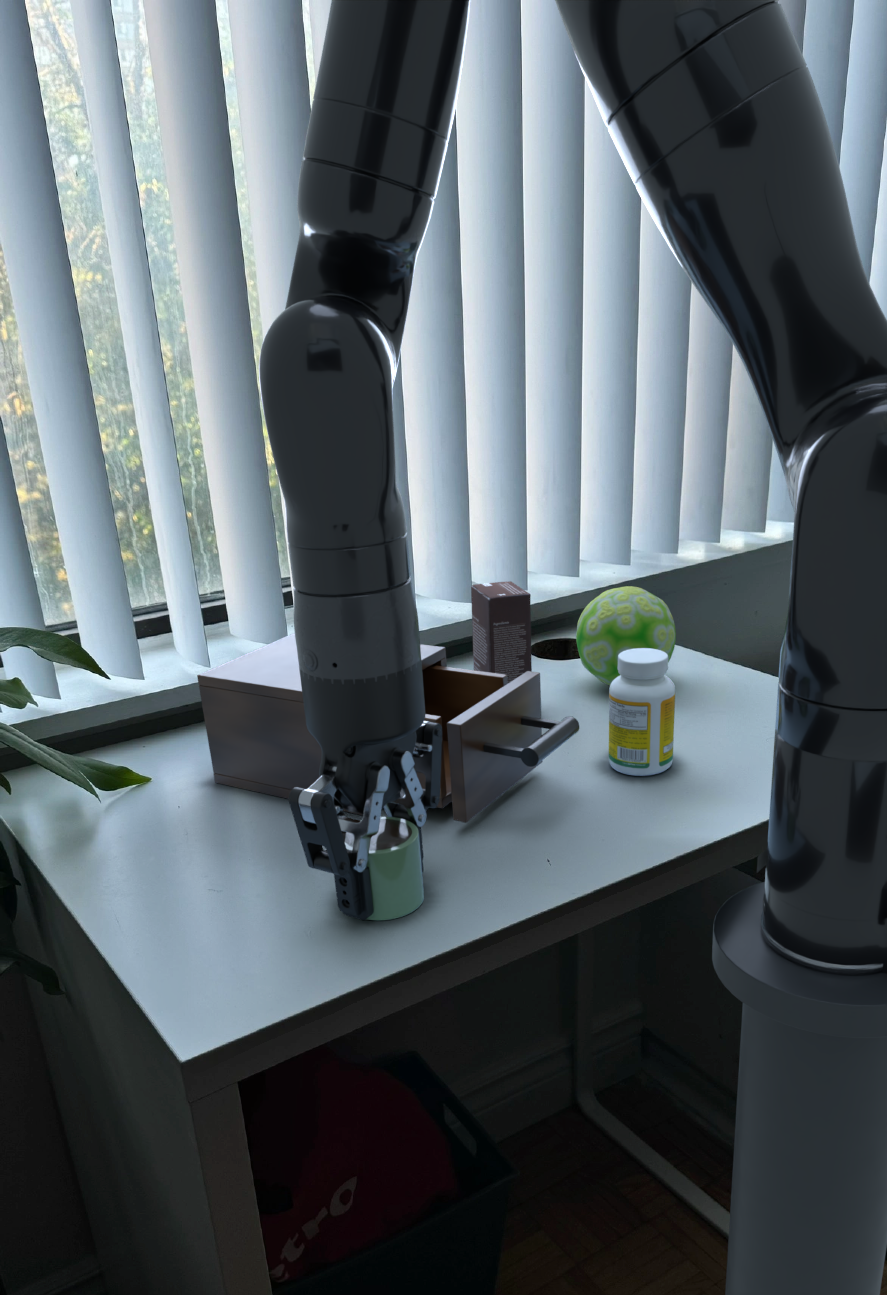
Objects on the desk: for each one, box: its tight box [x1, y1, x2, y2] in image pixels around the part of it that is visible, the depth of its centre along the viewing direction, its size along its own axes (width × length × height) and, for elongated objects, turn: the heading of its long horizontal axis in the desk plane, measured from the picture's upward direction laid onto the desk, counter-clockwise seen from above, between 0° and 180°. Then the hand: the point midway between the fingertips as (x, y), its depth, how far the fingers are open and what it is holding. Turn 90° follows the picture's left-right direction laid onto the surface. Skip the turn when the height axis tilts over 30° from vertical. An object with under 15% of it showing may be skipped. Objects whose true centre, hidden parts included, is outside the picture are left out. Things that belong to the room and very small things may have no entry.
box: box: [470, 580, 533, 683], centre depth 102 cm, size 6×4×12 cm
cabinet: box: [196, 632, 448, 816], centre depth 93 cm, size 16×14×10 cm
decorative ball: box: [575, 585, 677, 686], centre depth 107 cm, size 10×10×10 cm
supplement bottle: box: [608, 648, 676, 777], centre depth 89 cm, size 5×5×10 cm
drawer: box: [417, 665, 580, 824], centre depth 86 cm, size 19×13×8 cm, turn 58°
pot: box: [345, 816, 425, 921], centre depth 72 cm, size 5×5×5 cm
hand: (383, 893), depth 73 cm, fingers closed on pot, 5 cm apart
